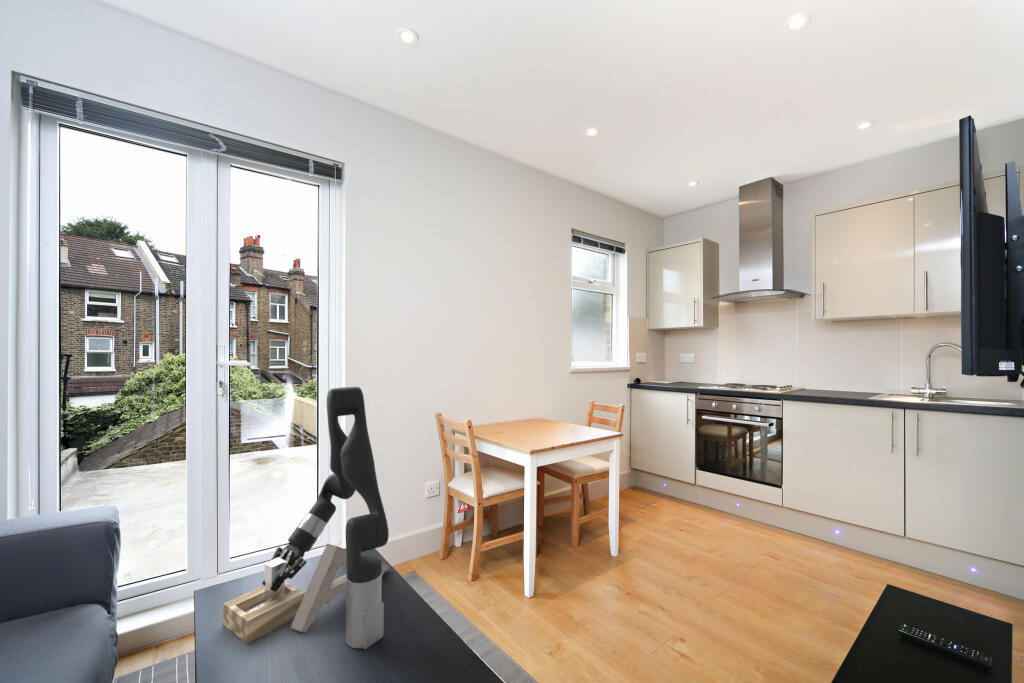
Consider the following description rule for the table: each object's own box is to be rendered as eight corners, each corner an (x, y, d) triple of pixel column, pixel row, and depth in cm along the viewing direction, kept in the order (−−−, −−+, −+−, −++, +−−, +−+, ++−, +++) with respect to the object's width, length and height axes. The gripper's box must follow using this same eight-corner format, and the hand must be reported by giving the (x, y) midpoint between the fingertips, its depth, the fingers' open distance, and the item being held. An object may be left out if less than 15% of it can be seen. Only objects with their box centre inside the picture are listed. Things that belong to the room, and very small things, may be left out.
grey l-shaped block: (284, 604, 127) (285, 561, 127) (249, 622, 119) (250, 576, 119) (277, 600, 129) (278, 557, 129) (242, 617, 121) (243, 572, 121)
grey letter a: (363, 639, 139) (301, 631, 117) (353, 635, 141) (290, 627, 118) (389, 565, 151) (337, 546, 129) (379, 563, 153) (327, 543, 130)
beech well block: (303, 612, 127) (304, 592, 127) (247, 643, 113) (247, 621, 113) (279, 597, 134) (279, 578, 135) (223, 624, 121) (223, 603, 121)
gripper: (287, 521, 137) (247, 575, 127) (313, 532, 129) (272, 591, 119) (303, 532, 141) (265, 585, 131) (328, 542, 134) (290, 600, 123)
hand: (268, 587), depth 125 cm, fingers closed on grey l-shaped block, 4 cm apart
